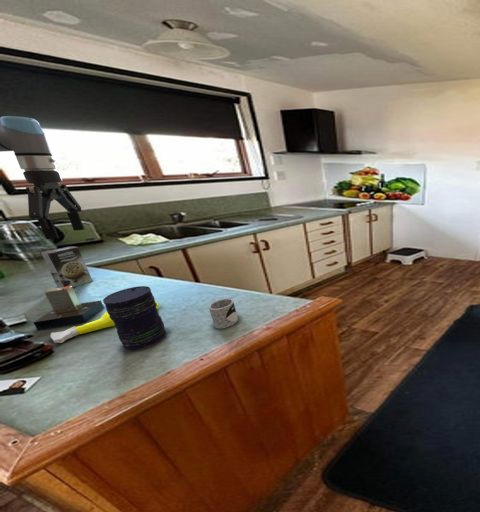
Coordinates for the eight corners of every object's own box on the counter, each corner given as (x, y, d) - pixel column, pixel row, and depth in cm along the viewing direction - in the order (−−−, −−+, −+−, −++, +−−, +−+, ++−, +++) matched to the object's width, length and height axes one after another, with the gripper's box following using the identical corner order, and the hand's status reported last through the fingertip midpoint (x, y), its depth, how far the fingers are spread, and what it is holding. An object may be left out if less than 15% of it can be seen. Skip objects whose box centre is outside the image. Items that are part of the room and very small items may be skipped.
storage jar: (157, 346, 75) (139, 299, 70) (115, 354, 73) (92, 306, 68) (172, 326, 84) (157, 283, 79) (135, 333, 82) (116, 289, 77)
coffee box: (66, 289, 113) (48, 253, 108) (57, 288, 115) (39, 252, 110) (93, 280, 121) (78, 246, 116) (85, 279, 123) (69, 245, 118)
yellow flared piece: (161, 309, 95) (58, 350, 76) (150, 301, 101) (51, 337, 82) (158, 302, 94) (52, 341, 75) (147, 294, 100) (46, 329, 81)
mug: (233, 326, 83) (228, 308, 81) (210, 329, 82) (204, 310, 80) (244, 310, 92) (239, 292, 90) (223, 312, 92) (218, 294, 89)
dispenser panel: (37, 330, 85) (32, 321, 84) (61, 314, 94) (57, 306, 93) (85, 322, 89) (81, 314, 88) (104, 307, 98) (100, 299, 97)
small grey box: (55, 313, 89) (43, 291, 86) (61, 310, 91) (49, 288, 88) (77, 310, 90) (66, 288, 87) (82, 307, 92) (71, 285, 89)
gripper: (25, 170, 78) (55, 241, 85) (80, 169, 100) (101, 226, 107) (-12, 171, 75) (22, 244, 82) (52, 170, 97) (76, 228, 104)
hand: (67, 234), depth 94 cm, fingers open, 13 cm apart
